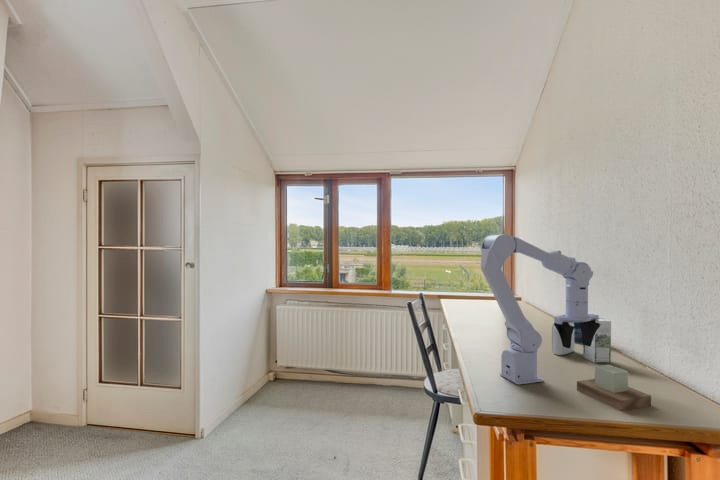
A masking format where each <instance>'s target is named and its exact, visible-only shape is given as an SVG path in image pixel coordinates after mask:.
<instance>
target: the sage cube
mask: <svg viewBox="0 0 720 480" xmlns="http://www.w3.org/2000/svg"><path fill="white" fill-rule="evenodd" d="M594 379H595V385H596V386H598V387H600V388H603V389H605V390H608V391H610V392H612V393H617V392H623V391H628V387H629V372H628V370H626V369H624V368H620V367H616V366H613V365H612V364H605V365H603V364H602V365H597V366H594Z"/></svg>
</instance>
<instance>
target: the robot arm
mask: <svg viewBox="0 0 720 480" xmlns="http://www.w3.org/2000/svg"><path fill="white" fill-rule="evenodd" d="M480 251H481V252H480V253H481V256H480V269H481V271H482V273H483V276H484V278H485V280H486V282H487V284H488V286H489V288H490V290H491V292H492V294H493V297H494V298H495V300H496V303H497V305H498V306H499V308H500V311H501V313H502V315H503V317H504V319H505V321H504V325H505V328H506V337H507V338H508V340H509V341H510V343H509V344H510V345H509V348H508V349H504V350H502V353H501V358H500V359H501V360H500V361H501V363H500V364H501V372H500V373H499V375H500V376H501V377H503V378H505V379H507V380H509V381H510V382H512V383H514V384H515V385H519V386H520V385H527V384H534V383H539V382H540V383H541V382H542V383H543V382H544V381H545V379H544V378H542V377H540V376H538V349H540V348H541V345H542V342H543V339H542V336H541V334H540V333H539V331H538V330H536V329H535V327H533V324H532V323H531V322H530V321H529V319H527V318H526V316H525V315H524V313H523V311H522V309H521V306H520V305H519V303H518V300H517V298H516V297H515V294H514V292H513V290H512V287H511V286H510V284H509V282H508V280H507V277H506V276H505V274H504V271H503V270H502V267H503V265H504V263H505V262H506V260H507V259H508V258H510V256H511V255H512V254H513V253H514V254H518V253H519V254H521V255H524V256H525V257H529V258H531V259H534V260H537V261H539V262H541V264H542V266H543V268H545V269H546V270H549V271H552V272H555V273H556V274H558V275H561V276H562V277H563V278H564V279H565V314H560V315H558V316H557V315H556V316H553V317H554V319H553V320H554V322H553V324H554V326H555V327H556V329H557V331H558V333H559V335H560V338H561V341H562V345H563V347H566V348H570V347H571V337H572V333H573V330H574V328H575V327H574V326H570V324H569V323H575V322H579V324H580V327H581V331H582V342H583V344H582V345H586V346H591V344H592V340H593V337H594V335H595V333H596V331H597V329H598V328H599V327H600V323H596V322H598V321H599V314H594V313H589V286H590V280H591V279H592V277H593V275H594V271H592V269H591V266H590V265H589V264H588V263H587V262H584V261H577V260H576V257H573V256H572V257H571V256H567V255H565V254H562V250H558V249H556V250H553V249H552V250H549V251H545V250H543V249H541V248H539V247H537V246H535V245H534V244H531V243H529V242H528V241H525V240H523V239H521V238H519V237H517V236H512V235H510V234H508V233H502V234H489V235H486V237H485V238H483V241H482V243H481V244H480Z"/></svg>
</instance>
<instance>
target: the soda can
mask: <svg viewBox="0 0 720 480" xmlns="http://www.w3.org/2000/svg"><path fill="white" fill-rule="evenodd" d="M574 327H575V328H574V344H580V345H583V342H582V331H581V327H580V324H579V322H575V323H574Z"/></svg>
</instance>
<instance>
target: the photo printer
mask: <svg viewBox="0 0 720 480" xmlns="http://www.w3.org/2000/svg"><path fill="white" fill-rule="evenodd" d="M569 324H570V326H574V323H569ZM574 351H575V343H574V330H573V333H572V337H571V347H570V348H566V347H563V345H562V341H561V338H560V335H559V333H558V331H557V329H556V327H555V326H554V323H553V324H552V326H551V353H553V354H554V355H557V356H565V355H568V354H571V353H573V352H574Z"/></svg>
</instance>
